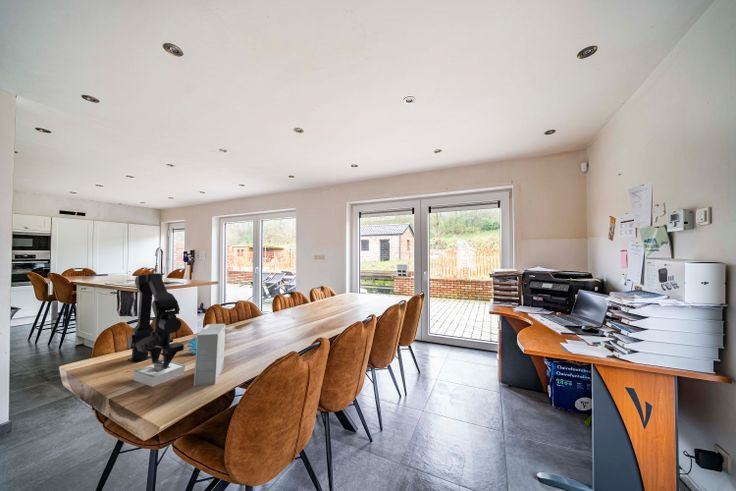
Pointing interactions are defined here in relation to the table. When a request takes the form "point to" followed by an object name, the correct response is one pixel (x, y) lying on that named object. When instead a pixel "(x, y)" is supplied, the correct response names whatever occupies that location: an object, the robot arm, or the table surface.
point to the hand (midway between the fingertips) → (160, 366)
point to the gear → (192, 345)
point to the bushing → (158, 366)
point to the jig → (158, 374)
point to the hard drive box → (209, 354)
